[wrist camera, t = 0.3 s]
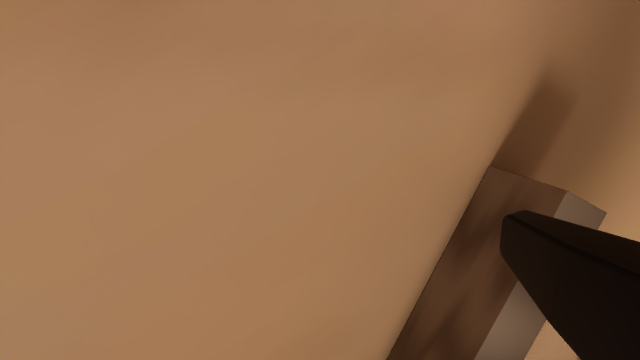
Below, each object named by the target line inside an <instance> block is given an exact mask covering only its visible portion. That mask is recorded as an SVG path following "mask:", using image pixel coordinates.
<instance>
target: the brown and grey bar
mask: <svg viewBox="0 0 640 360" xmlns="http://www.w3.org/2000/svg"><path fill="white" fill-rule="evenodd" d="M521 209H525V210H529V211H533V212H536V213H540V214H543V215H547V216H550V217H554V218H557V219H561V220H564V221H568V222H571V223H575V224H578V225H582V226H585V227H589V228H592V229H596V230H597V229H598V228H599V226H600V224H601V222H602V221H603V219H604V217H605V215H606V214H607V213H606V212H605V211H603V210H601V209H599V208H597V207H596V206H594V205H592V204H590V203H588V202H587V201H585V200H583V199H581V198H579V197H578V196H576V195H574V194H572V193H570V192H569V191H566V190H563V189H560V188H557V187H554V186H551V185H548V184H544V183H541V182H538V181H535V180H532V179H529V178H526V177H523V176H520V175H517V174H513V173H510V172H507V171H504V170H501V169H498V168H495V167H492V166H489V168H488V170H487V172H486V174H485V175H484V177H483V179H482V181H481V183H480V185H479V187H478V189H477V191H476V192H475V194H474V196H473V198H472V200H471V202H470V204H469V206H468V208H467V209H466V211H465V213H464V215H463V217H462V219H461V221H460V223H459V225H458V226H457V228H456V230H455V232H454V234H453V236H452V238H451V240H450V242H449V243H448V245H447V247H446V249H445V251H444V253H443V255H442V257H441V259H440V260H439V262H438V264H437V266H436V268H435V270H434V272H433V274H432V276H431V277H430V279H429V281H428V283H427V285H426V287H425V289H424V291H423V293H422V295H421V296H420V298H419V300H418V302H417V304H416V306H415V308H414V310H413V312H412V313H411V315H410V317H409V319H408V321H407V323H406V325H405V327H404V329H403V330H402V332H401V334H400V336H399V338H398V340H397V342H396V344H395V346H394V347H393V349H392V351H391V353H390V355H389V357H388V359H387V360H524V358H525V356H526V355H527V353H528V351H529V349H530V348H531V346H532V344H533V342H534V340H535V339H536V337H537V335H538V333H539V332H540V330H541V328H542V326H543V325H544V323H545V321H546V318H545V316H544V315H543V314H542V312H541V311H540V310H539V308H538V307H537V306H536V304H535V303H534V301H533V300H532V299H531V297H530V296H529V294H528V293H527V292H526V290H525V289H524V287H523V286H522V284H521V283H520V282H519V280H518V279H517V277H516V276H515V275H514V273H513V272H512V270H511V269H510V268H509V266H508V265H507V263H506V262H505V261H504V259H503V257H502V255H501V253H500V249H499V241H500V231H501V221H502V218H503V216H504V215H506V214H508V213H511V212H514V211H517V210H521Z"/></svg>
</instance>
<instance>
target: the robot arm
mask: <svg viewBox="0 0 640 360" xmlns="http://www.w3.org/2000/svg"><path fill="white" fill-rule="evenodd" d="M499 249H500V253H501V255H502V257H503V259H504V261H505V262H506V263H507V265H508V266H509V268H510V269H511V270H512V272H513V273H514V275H515V276H516V277H517V279H518V280H519V282H520V283H521V284H522V286H523V287H524V289H525V290H526V292H527V293H528V294H529V296H530V297H531V299H532V300H533V301H534V303H535V304H536V306H537V307H538V308H539V310H540V311H541V312H542V314H543V315H544V316H545V318H546V319H547V320H548V322H549V323H550V324H551V325H552V326H553V328H554V329H555V330H556V331H557V332H558V334H559V335H560V336H561V337H562V338H563V339H564V340H565V342H566V343H567V344H568V345H569V346H570V347H571V349H572V350H573V351H574V352H575V353H576V354H577V355H578V357H579V358H580V359H581V360H640V242H638V241H634V240H631V239H627V238H624V237H620V236H617V235H613V234H610V233H606V232H603V231H599V230H596V229H592V228H589V227H585V226H582V225H578V224H575V223H571V222H568V221H564V220H561V219H557V218H554V217H550V216H547V215H543V214H540V213H536V212H533V211H529V210H525V209H521V210H517V211H514V212H511V213H508V214H506V215H504V216H503V218H502V221H501V231H500V241H499Z"/></svg>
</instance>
